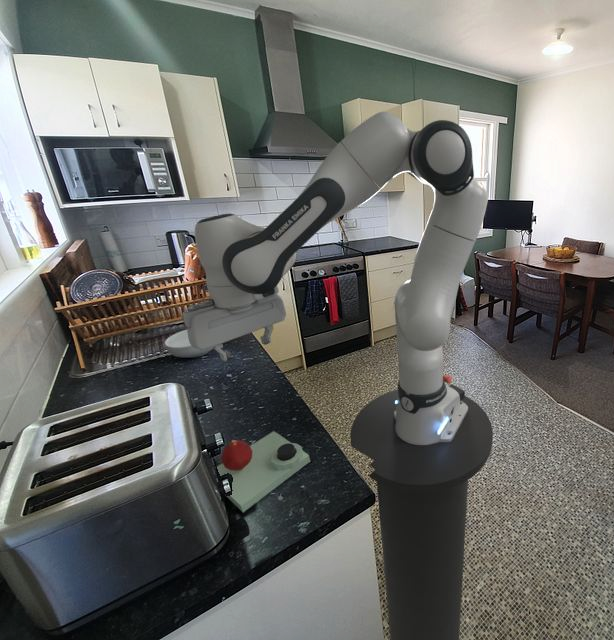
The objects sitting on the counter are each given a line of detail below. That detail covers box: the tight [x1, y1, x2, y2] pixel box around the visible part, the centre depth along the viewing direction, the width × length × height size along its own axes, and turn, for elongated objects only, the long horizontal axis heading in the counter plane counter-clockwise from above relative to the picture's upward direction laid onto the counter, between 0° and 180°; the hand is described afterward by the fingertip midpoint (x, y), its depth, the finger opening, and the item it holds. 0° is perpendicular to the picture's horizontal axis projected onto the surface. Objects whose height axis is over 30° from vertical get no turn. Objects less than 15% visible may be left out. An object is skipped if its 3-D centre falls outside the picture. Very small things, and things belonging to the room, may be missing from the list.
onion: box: [220, 439, 252, 471], centre depth 74 cm, size 6×6×8 cm
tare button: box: [277, 442, 295, 461], centre depth 77 cm, size 4×4×2 cm
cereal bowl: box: [164, 329, 214, 359], centre depth 127 cm, size 17×17×7 cm
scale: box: [216, 430, 311, 513], centre depth 77 cm, size 16×14×4 cm
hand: (247, 351), depth 79 cm, fingers open, 8 cm apart
